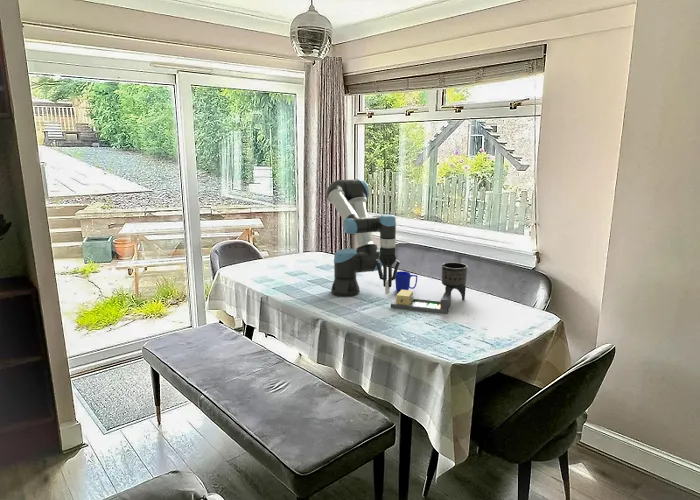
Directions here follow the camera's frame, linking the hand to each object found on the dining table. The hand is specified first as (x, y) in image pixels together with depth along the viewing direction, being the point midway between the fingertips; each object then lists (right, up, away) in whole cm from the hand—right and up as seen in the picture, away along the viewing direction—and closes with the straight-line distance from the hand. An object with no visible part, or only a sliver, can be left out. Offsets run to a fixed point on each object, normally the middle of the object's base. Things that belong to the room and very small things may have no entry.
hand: (387, 293), depth 235 cm
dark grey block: (+27, -7, -8) cm, 29 cm away
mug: (+12, -1, +21) cm, 24 cm away
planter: (+34, -4, +8) cm, 35 cm away
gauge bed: (+16, -6, -4) cm, 18 cm away
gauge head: (+9, -5, -3) cm, 10 cm away
